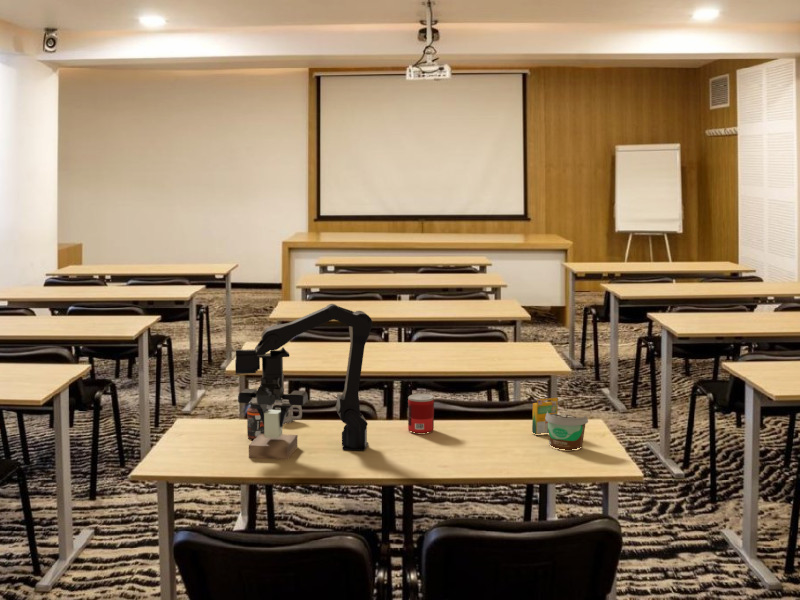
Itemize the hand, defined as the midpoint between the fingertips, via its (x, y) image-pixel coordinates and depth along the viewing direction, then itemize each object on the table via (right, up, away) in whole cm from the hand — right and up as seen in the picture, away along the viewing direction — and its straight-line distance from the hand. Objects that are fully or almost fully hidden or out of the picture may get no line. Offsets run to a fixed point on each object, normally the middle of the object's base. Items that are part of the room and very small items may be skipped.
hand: (273, 426), depth 221 cm
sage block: (0, -3, 0) cm, 3 cm away
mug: (-1, -4, +32) cm, 32 cm away
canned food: (+42, -5, +22) cm, 48 cm away
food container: (+83, -8, +6) cm, 84 cm away
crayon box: (+80, -6, +20) cm, 83 cm away
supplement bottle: (-7, -6, +15) cm, 18 cm away
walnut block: (0, -8, +1) cm, 8 cm away
